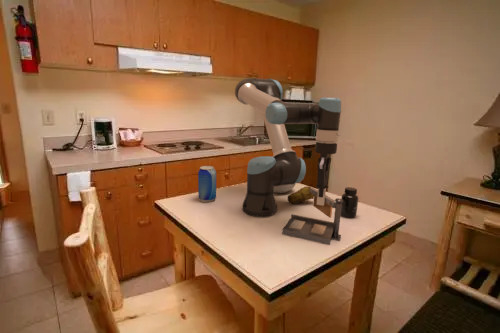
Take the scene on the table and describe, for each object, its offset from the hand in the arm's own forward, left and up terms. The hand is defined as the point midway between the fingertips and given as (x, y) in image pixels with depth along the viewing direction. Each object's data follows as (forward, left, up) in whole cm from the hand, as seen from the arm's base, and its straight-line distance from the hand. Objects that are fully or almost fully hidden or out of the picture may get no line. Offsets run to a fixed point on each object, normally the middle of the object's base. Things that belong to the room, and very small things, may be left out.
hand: (320, 204), depth 106 cm
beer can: (-54, +7, -10) cm, 55 cm away
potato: (-13, +25, -10) cm, 30 cm away
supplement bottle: (+9, +20, -10) cm, 24 cm away
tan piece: (0, +3, -4) cm, 5 cm away
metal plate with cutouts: (-3, -4, -10) cm, 11 cm away
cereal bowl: (-28, +37, -10) cm, 47 cm away
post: (+7, -4, -10) cm, 13 cm away
